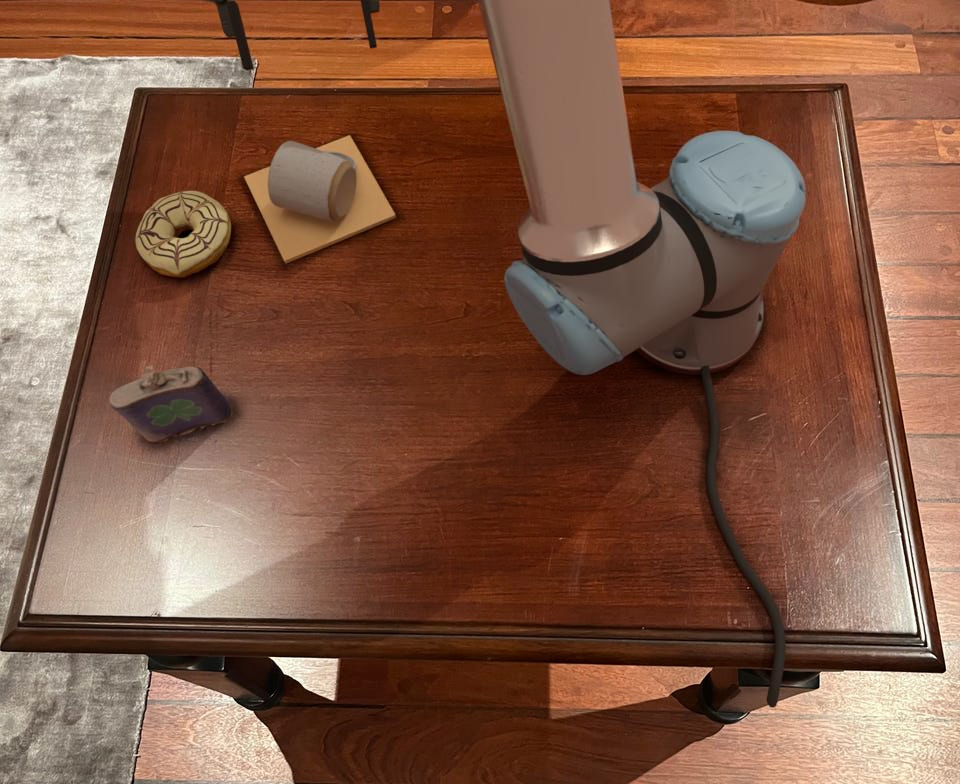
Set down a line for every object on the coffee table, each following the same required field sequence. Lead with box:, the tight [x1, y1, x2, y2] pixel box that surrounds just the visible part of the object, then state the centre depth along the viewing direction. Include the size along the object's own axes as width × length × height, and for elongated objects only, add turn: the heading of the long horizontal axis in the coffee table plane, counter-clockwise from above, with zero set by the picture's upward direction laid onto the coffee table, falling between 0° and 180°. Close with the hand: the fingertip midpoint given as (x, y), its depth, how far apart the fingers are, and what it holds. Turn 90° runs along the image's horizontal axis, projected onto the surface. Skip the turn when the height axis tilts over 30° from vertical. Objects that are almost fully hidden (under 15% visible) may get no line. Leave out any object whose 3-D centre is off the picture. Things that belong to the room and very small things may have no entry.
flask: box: [108, 365, 234, 443], centre depth 79 cm, size 9×3×11 cm, turn 109°
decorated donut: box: [135, 190, 232, 278], centre depth 92 cm, size 10×11×4 cm
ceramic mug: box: [268, 140, 357, 221], centre depth 92 cm, size 11×8×8 cm
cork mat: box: [243, 134, 397, 265], centre depth 95 cm, size 14×14×1 cm
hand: (311, 58), depth 86 cm, fingers open, 13 cm apart
